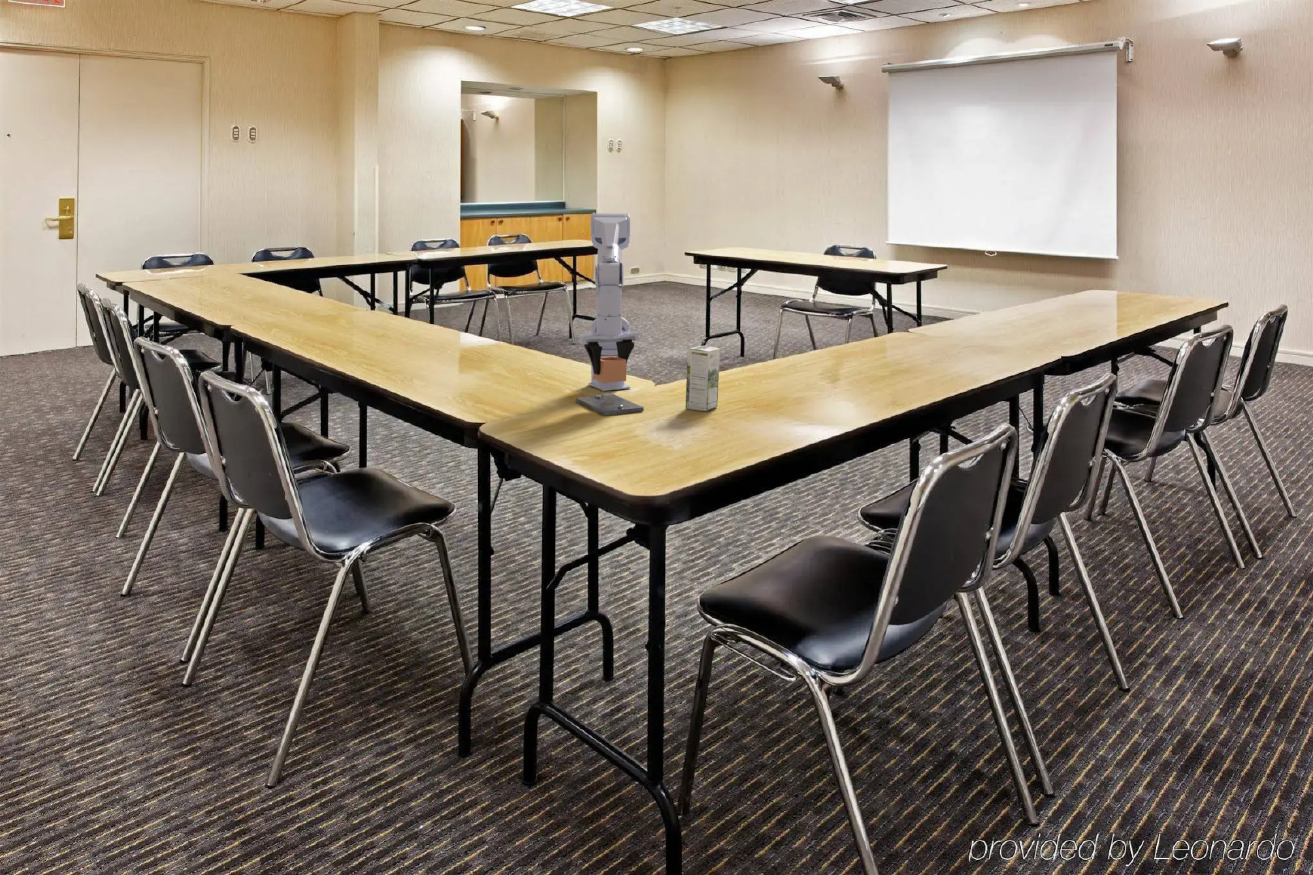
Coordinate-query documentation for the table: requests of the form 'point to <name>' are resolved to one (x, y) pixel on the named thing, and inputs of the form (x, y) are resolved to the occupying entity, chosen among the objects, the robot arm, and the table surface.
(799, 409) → the table surface
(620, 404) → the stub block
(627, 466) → the table surface
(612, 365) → the collar
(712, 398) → the syrup box
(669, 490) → the table surface
